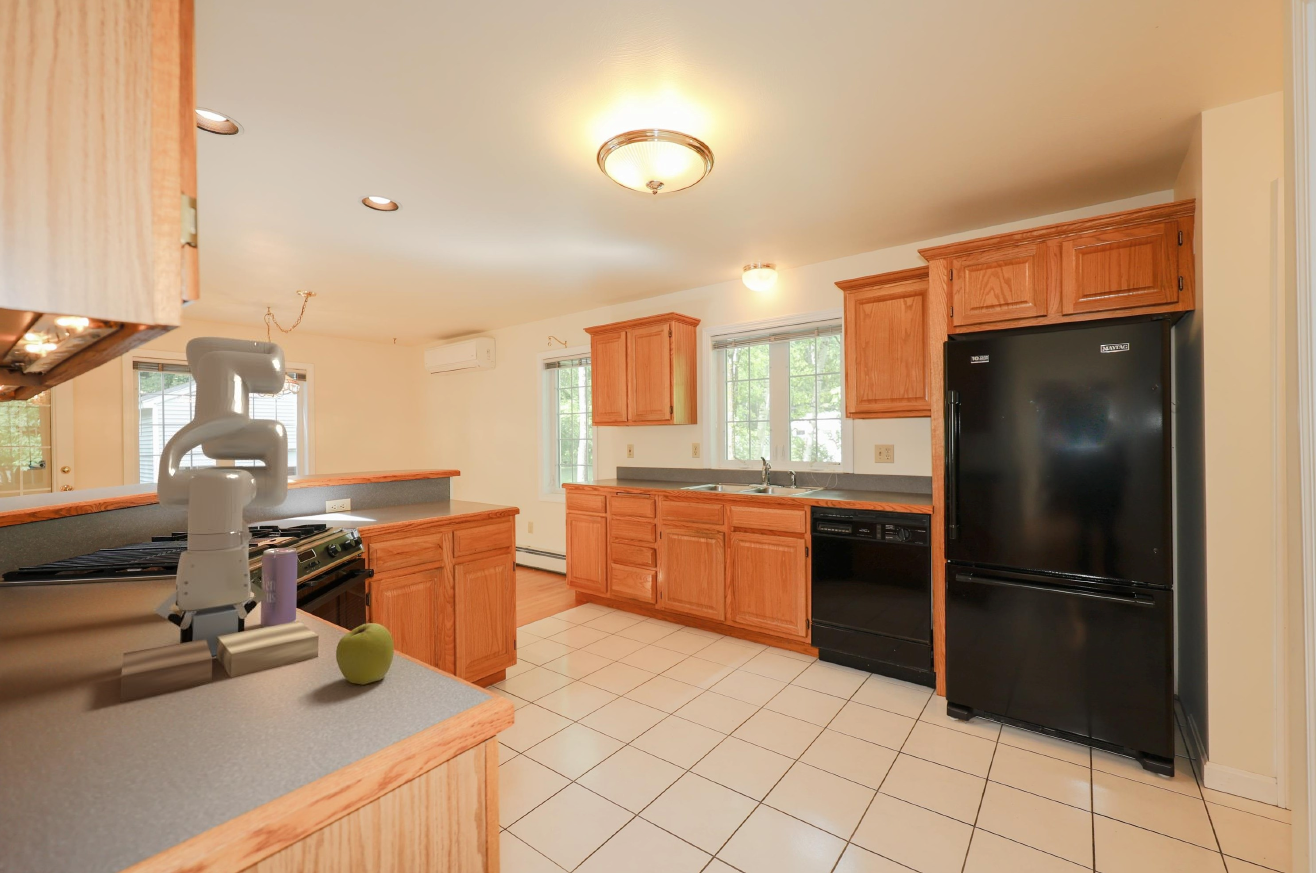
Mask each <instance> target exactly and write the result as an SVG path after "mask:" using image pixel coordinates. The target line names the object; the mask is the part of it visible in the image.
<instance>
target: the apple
mask: <svg viewBox="0 0 1316 873" xmlns="http://www.w3.org/2000/svg"><path fill="white" fill-rule="evenodd" d="M371 619H372V618H371V617H370V618H369V619H368V620H367V621H366V623H363V624H361V625H359V626H357V627H355V628H353V629H352V630H350V631H349V632H347V633H346V634H344V636H343V637H342V638H341V639H340V640H339V642H338V643H337V646H336V650H335V652H336V653H335V656H336V657H335V658H336V663H337V666H338V668H339V670H340V672H341V674H342V676H343V677H344V678H345V679H346V680H347V681H348V682H350V683H352V684H356V685H357V684H358V685H368V684H370V683H373V682H377V681H381V680H382V679H384V678H385V677H386V675H387V673H388V672H389V671H390V668H391V665H392V662H393V658H394V652H395V651H394V650H395V648H394V647H395V645H394V641H393V637H392V635H391V632H390V631H389V630H388V629H387V627H385V626H384V625H382V624H380V623H375V622H373V623H370V621H371ZM368 622H369V623H368Z"/></svg>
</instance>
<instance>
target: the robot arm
mask: <svg viewBox="0 0 1316 873" xmlns="http://www.w3.org/2000/svg"><path fill="white" fill-rule="evenodd" d="M185 355H186V356H185V357H186V361H187V365H188V368H189V370H190V374H191V376H192V378H193V380H194V382H195V384H196V386H195V401H194V416H193V418H192V420H191V421H190V422H189V423H187V424H185V425H184V426H183V427H181V428H180V429H179V430H178V431H177V432H175V434H173V436H172V437H171V438H170V439H169V440H168V441H167V442H166V444H165V445H164V448H163V449H162V452H161V455H160V459H159V465H158V466H159V467H158V473H157V474H158V475H157V484H156V485H157V486H156V488H157V489H156V491H157V492H156V495H157V500H158V503H159V505H160V506H161V507H162V508H164V509H166V510H168V511H174V512H178V511H179V512H180V511H181V512H182V511H184V512H186V511H188V512H187V514H188V515H187V516H188V517H187V550H185V551H181V553H180V556H179V560H178V565H177V571H176V578H175V588H174V591H173V592H172V593H170V595H169V596H168V597H166V598H165V599H164V600H163V601H162V602H161V603H160V604H159V605H157V606H156V607H155V608H154V612H155V613H156V614H157V615H159V616H161V617H162V618H164V619H166V620H167V621H169V622H170V623H172V624H174V625H175V626H177V627H178V628H180V631H179V633H180V634H179V635H180V637H179V644H180V643H186V642H192V635H193V629H192V627H191V621H192V619H193V616H194V615H195V613H196V611H198V610H205V609H211V608H217V607H224V606H230V605H232V606H234V608H235V609H237V610H238V632H243V631H245V620H246V618H247V617H248V615H249V614H250V613H251V612H252V611H253V610H254V609H255V608H256V607H257V605H258V604H261V601H262V600H263V599H264V598H265V597H266V596H267V593H266V592H265V591H263V590H262V589H261V587H259V586H258V585H257V584H255V583H254V582H252V581H251V571H250V561H249V549H250V548H249V547H250V546H249V545H250V543H249V542H250V541H251V540H252V539H253V538H252V537H253V534H252V532H250V530H249V529H250V528H249V526H248V523H247V522H246V520H244V519H243V513H244V512H243V509H256V508H271V507H272V508H273V507H278V506H281V505H282V504H283V503H285V501H286V498H287V496H288V486H289V485H288V481H289V478H288V477H289V476H288V474H289V473H288V471H289V467H288V466H289V465H288V464H289V463H288V462H289V457H288V455H289V453H288V452H289V444H288V443H289V441H288V433H287V429H286V427H285V425H284V423H282V422H280V421H279V420H275V419H268V418H267V419H264V418H251V417H250V394H263V395H277V394H279V393H281V392H282V390H283V389H284V387H285V382H286V360H285V359H286V358H285V354H284V351H283V349H282V347H281V346H280V345H279V344H278V343H274V342H268V341H260V340H259V341H258V340H250V339H249V340H248V339H241V338H230V337H219V336H202V337H200V336H199V337H196V338H195V337H194V338H192V339H190V340H188V342H187V344H186V347H185ZM198 446H201V452H202V453H203V455H204V456H205V457H206V458H208V459H211V460H216V461H218V460H220V461H261V462H263V463H264V465H252V466H251V465H244V466H243V465H228V466H227V465H221V466H210V467H206V468H199V469H197V468H194V469H193V468H190V469H187V468H186V469H180V464H181V461H182V459H183V457H184V456H185V455H186V454H188V453H189V452H190V451H191V450H193V449H195V448H196V447H198ZM251 592H252V593H253V595H254V596H253V597H252V596H251ZM173 605H175V606H176V607H178V609H179V611H181V612H182V613H181V615H179V614H178V613H176V612H174V611H172V610H171V609H170V608H171V607H172V606H173Z"/></svg>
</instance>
